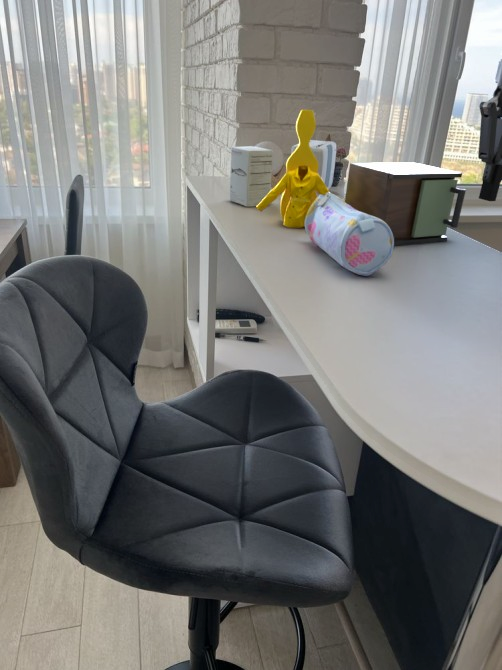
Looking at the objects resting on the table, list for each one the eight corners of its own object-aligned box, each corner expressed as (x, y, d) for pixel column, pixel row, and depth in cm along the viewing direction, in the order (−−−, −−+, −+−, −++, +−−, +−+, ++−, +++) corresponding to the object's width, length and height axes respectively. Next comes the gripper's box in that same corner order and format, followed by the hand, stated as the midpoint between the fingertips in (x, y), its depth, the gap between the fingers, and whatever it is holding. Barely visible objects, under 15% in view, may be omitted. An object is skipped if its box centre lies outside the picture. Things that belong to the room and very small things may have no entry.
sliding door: (457, 239, 97) (470, 182, 92) (424, 242, 94) (437, 183, 89) (442, 234, 100) (455, 178, 95) (410, 236, 97) (422, 179, 92)
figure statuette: (255, 226, 102) (261, 108, 93) (255, 217, 109) (261, 106, 100) (342, 231, 102) (357, 113, 93) (337, 222, 109) (351, 111, 100)
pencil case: (301, 241, 94) (306, 189, 90) (345, 241, 96) (351, 190, 92) (338, 280, 76) (347, 217, 72) (392, 279, 78) (403, 217, 73)
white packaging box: (228, 201, 123) (230, 146, 118) (252, 198, 127) (255, 145, 122) (246, 207, 118) (248, 150, 113) (270, 204, 122) (274, 149, 117)
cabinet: (446, 241, 100) (462, 173, 94) (381, 246, 94) (393, 174, 88) (402, 224, 111) (413, 162, 105) (341, 228, 105) (349, 163, 99)
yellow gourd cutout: (318, 204, 125) (327, 117, 116) (286, 200, 127) (293, 114, 118) (332, 191, 143) (341, 114, 134) (304, 188, 145) (311, 112, 136)
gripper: (531, 61, 91) (495, 194, 101) (478, 55, 86) (446, 196, 96) (569, 61, 85) (527, 202, 95) (515, 54, 80) (477, 205, 90)
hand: (486, 199), depth 96 cm, fingers closed
